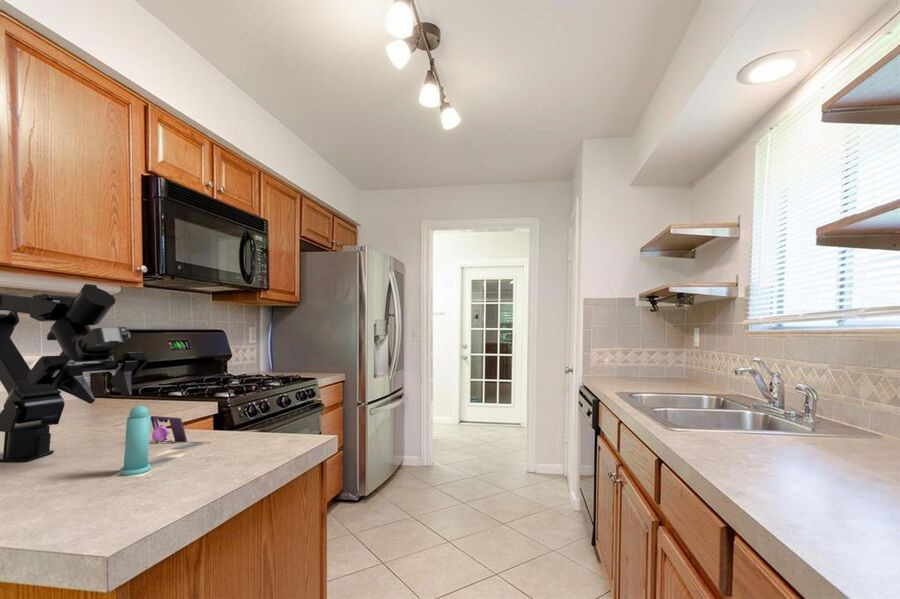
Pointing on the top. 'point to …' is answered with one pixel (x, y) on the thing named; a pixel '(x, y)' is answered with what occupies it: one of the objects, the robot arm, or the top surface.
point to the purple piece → (161, 431)
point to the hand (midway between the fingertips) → (111, 399)
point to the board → (168, 454)
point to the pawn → (137, 442)
